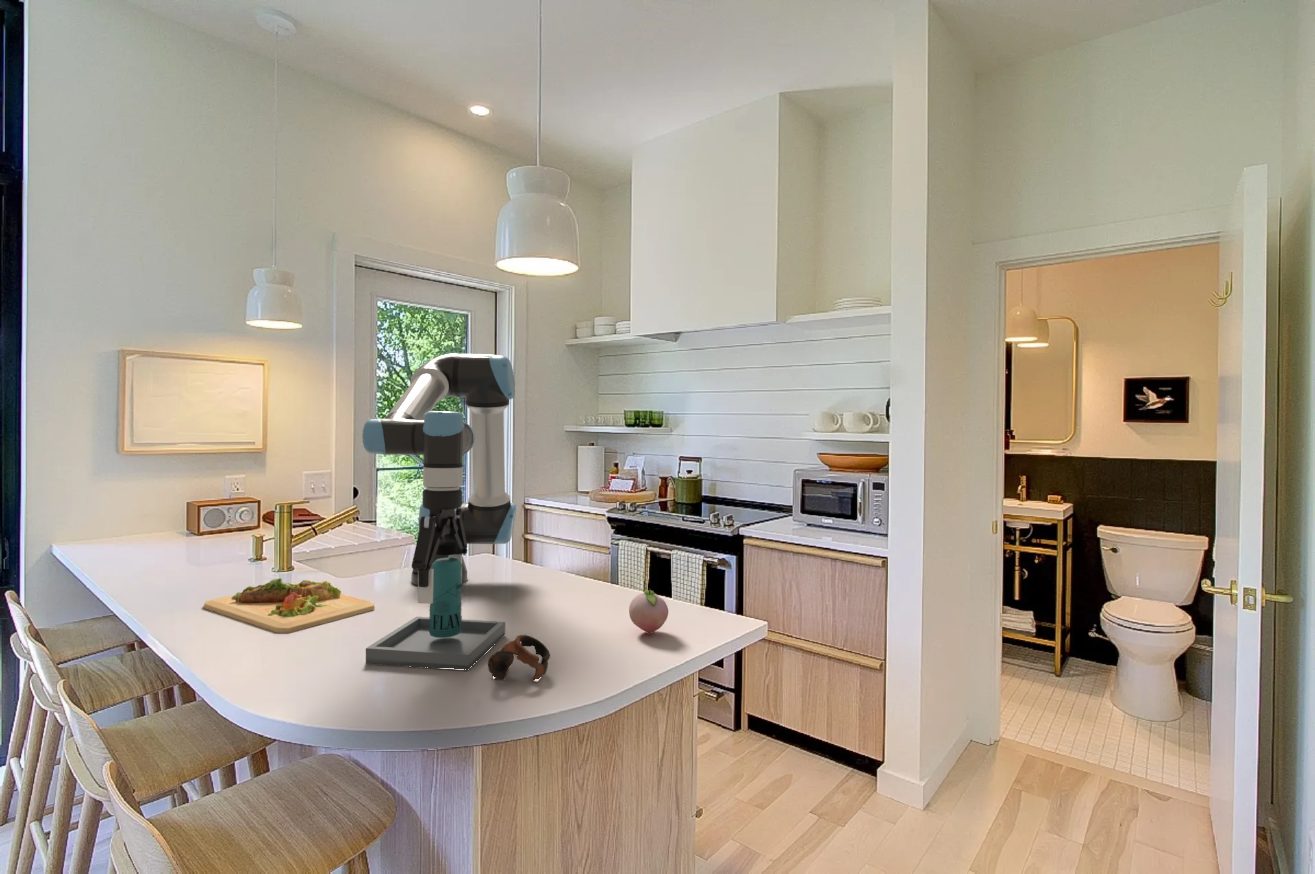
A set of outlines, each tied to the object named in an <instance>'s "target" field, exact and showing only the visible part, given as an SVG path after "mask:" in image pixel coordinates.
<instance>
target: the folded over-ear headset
mask: <svg viewBox="0 0 1315 874" xmlns="http://www.w3.org/2000/svg"><path fill="white" fill-rule="evenodd" d="M525 647H526V648H527V647H534V650H535V654H534V653H531V652H530V651H528V649H526V648H525ZM515 656H516V660H518V661H520V662H521V663H523V664H525V665H528V666H530V667H531V668H534V669H535V672H534V675H533V677H532V681H533V680H535V679H539V678H540V677H542V678H543V676H544V675H546V673H547V671H548V668H549V662H548V661H549V660H550V658H551V653H550V651H549V649H548V648H547V646H546V645H545V644H544V643H543V642H541V641H540V640H538V639H537V638H535V637H533V636H530V635H527V634H519V635H517V636H516V637H515V639H514V640H510V641H508V642H506V643H505V644H504V645H503V647H501V649H500V650H498V651H496V652H494V653H493V654H491V655H490V657H489V658H488V660H487V668H488V671H489V672H490V673H491V677H492V676H494V677H496V680H499V681H505V679H506V677H507V673H508V670H509V669H510V667H511V666H512V665H513V663H514V660H515ZM539 656H540V657H541V661H540V657H539Z"/></svg>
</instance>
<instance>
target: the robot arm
mask: <svg viewBox="0 0 1315 874" xmlns="http://www.w3.org/2000/svg"><path fill="white" fill-rule="evenodd" d="M513 370H514V369H513V365H512V363H511V360H510V359H509V358H508V357H507V356H505V355H498V354H491V353H490V354H489V353H488V354H487V353H486V354H485V353H484V354H482V353H477V354H476V353H474V354H473V353H447V354H442V355H439V356H436V357H434V358H432V359H430V360H428V361H426V362H425V363H423V364H421V365H420V366H419V367H418V368H416V370H415V371H414V372H413V374H412V375H411V377H410V383H409V386H408V387H407V389H405V391H404V393H403V394H402V395H401V396H400V398H399V399H398V401H397V402H396V403H395V404H394V406H393V407H392V408H391V409H390V411H389V412H388V414H387V415H386V416H385V418H373V419H372V418H370V419H368V420H366V422H365V423H364V425H363V428H362V435H361V436H362V444H363V445H362V446H363V448H364V450H365V451H366V452H367V453H369V454H372V455H373V454H374V455H383V456H388V455H390V456H392V455H393V456H396V455H397V456H400V455H401V456H403V455H404V456H410V455H411V456H423V459H422V461H423V467H422V468H423V470H422V471H421V475H422V476H423V477H422V486H423V487H424V488H425V489H423V491H422V503H421V504H420V505H419V511H418V513H419V514H418V519H417V521H418V535H417V540H416V546H415V548H414V553H413V558H412V562H411V568H412V572H411V580H410V582H411V583H412V584H413V585H416V586H417V604H426V605H430V604H432V603H433V572H434V569H431V566H432V563H433V562H434V561H436V560H437V559H440V558H456V559H458V560H459V561H460V562H461V563H462V582H463V583H464V582H466V581H467V580H468V570H467V566H466V563H465V560H464V556H463V555H467V553H468V545H492V546H495V545H504V544H508V543H509V542H510V541H511V540H512V536H513V532H514V528H515V522H516V516H517V515H516V514H517V504H516V503H514V502H511V496H510V495H509V494H508V493H507V492H506V489H505V487H506V485H505V484H506V481H505V480H506V479H505V478H506V476H505V472H506V471H505V430H504V429H505V425H504V424H505V419H504V417H505V416H504V415H505V414H504V411H505V409H507V407H509V405H510V400H512V399H514V397H515V395H516V382H515V376H514V371H513ZM445 398H464V403H465V407H467V408H468V409H469V410H470V411H471V412H470V413H471V425H470V424H468V423H467V422H465V421H464V415H463V414H462V412H460V411H439V410H438V411H437V410H436V411H435V410H433V409H434V408H435V406H436V405H437V403H438V402H440V401H442V400H443V399H445ZM471 449H472V479H473V481H472V482H473V486H472V488H473V493H472V494H471V495H469V497H468V498H467V499H468V500H467V502H464V500H463V491H462V489H461V487H462V486H463V485H464V484H463V477H464V476H463V475H464V474H463V471H464V469H463V459H464V457H463V456H464V455H465V454H467V453H468V452H469V451H470V450H471ZM444 542H453V543H456V544H457V554H453V555H438V554H436V552H437V549H438V546H439V543H444Z"/></svg>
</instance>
